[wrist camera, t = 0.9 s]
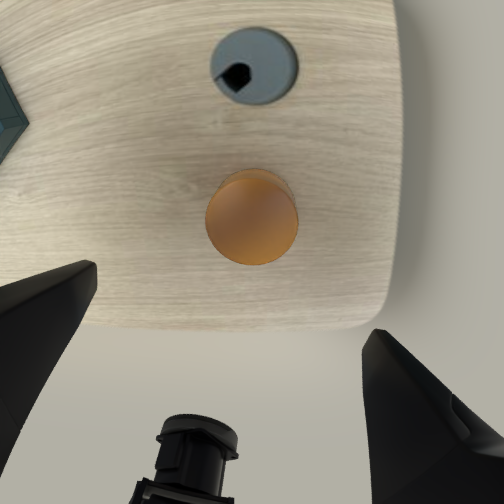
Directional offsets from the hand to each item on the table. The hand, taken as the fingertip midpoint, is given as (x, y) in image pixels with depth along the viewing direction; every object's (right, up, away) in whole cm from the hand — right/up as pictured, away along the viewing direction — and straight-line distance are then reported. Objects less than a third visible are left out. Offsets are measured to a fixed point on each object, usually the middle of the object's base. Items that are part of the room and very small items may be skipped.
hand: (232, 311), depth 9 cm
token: (+1, +4, +8) cm, 9 cm away
